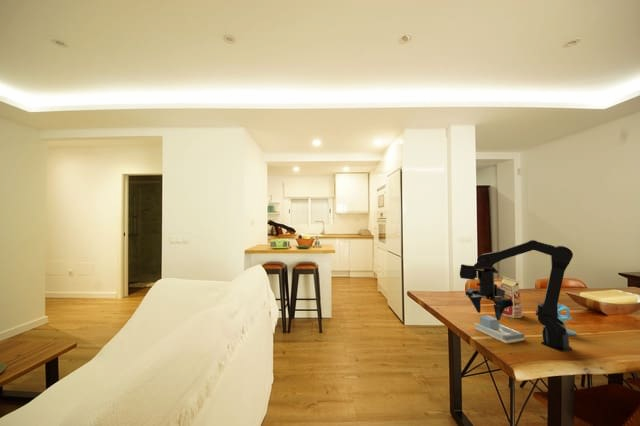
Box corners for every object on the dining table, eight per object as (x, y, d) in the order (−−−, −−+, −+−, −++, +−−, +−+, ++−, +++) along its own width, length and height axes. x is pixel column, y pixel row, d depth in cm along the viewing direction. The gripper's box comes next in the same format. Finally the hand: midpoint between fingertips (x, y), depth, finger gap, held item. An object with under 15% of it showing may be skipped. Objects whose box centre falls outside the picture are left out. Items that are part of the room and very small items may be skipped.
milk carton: (496, 313, 126) (494, 276, 128) (506, 310, 130) (504, 274, 132) (516, 319, 118) (513, 279, 120) (525, 316, 122) (523, 277, 124)
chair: (541, 328, 107) (539, 302, 108) (555, 327, 108) (553, 301, 109) (561, 336, 99) (558, 307, 100) (576, 334, 101) (574, 306, 101)
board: (524, 340, 96) (524, 333, 96) (506, 343, 93) (505, 336, 94) (491, 326, 109) (491, 321, 110) (474, 328, 107) (474, 323, 107)
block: (499, 329, 104) (498, 319, 104) (490, 331, 102) (490, 320, 103) (488, 325, 108) (488, 315, 109) (480, 326, 107) (479, 316, 107)
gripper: (521, 285, 100) (523, 322, 99) (481, 276, 118) (483, 307, 117) (501, 286, 97) (504, 325, 96) (463, 277, 115) (465, 309, 114)
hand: (488, 316), depth 106 cm, fingers open, 9 cm apart
